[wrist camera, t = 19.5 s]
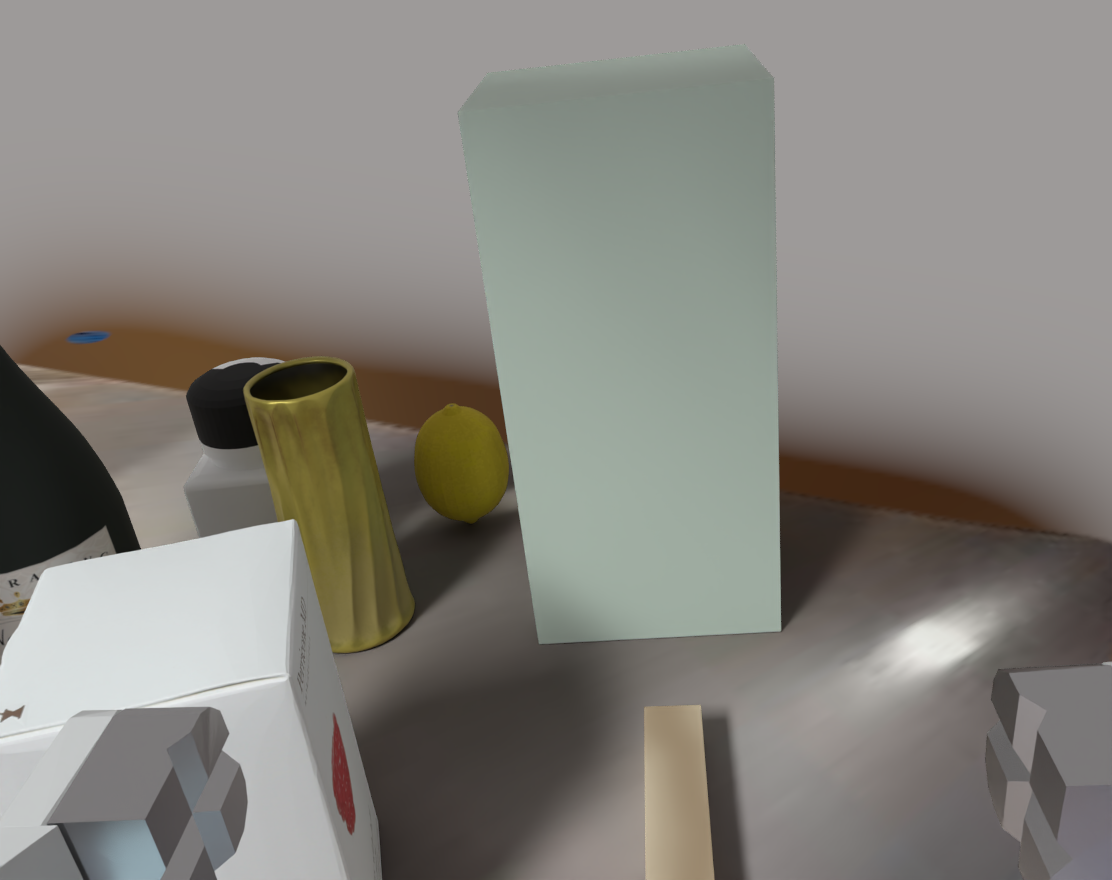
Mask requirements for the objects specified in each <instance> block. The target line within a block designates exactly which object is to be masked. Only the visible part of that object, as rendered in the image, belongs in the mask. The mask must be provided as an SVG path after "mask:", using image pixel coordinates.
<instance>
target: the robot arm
mask: <svg viewBox="0 0 1112 880" xmlns="http://www.w3.org/2000/svg"><path fill="white" fill-rule="evenodd" d="M991 701H992V703H993V705H994V708H995V710H996V712H997V714H998V717H999V719H1000V721H999V722H998V723H997V724H996V725H995V726H994V727H993V728H992V729H991V730H990V731H989V732H988V733H987V740H986V753H985V763H986V772H987V781H988V788H989V791H990V795H991V799H992V802H993V806H994V809H995V811H996V814H997V817H998V819H999V822H1000V824H1001V827H1002V829H1004V830H1005V831H1006V832H1008V833H1009V834H1010V835H1012V836H1013V837H1014V838H1016V839H1017V840H1018V841H1020V842H1021V846H1020V854H1019V861H1018V868H1019V870H1020V873H1021V875H1022V877H1023V880H1112V662H1104V663H1102V664H1080V665H1062V666H1043V667H1025V668H1007V669H998V671H997V673H996V675H995V678H994V680H993V686H992V694H991ZM228 736H229V731H228V729H227V726H226V724H225V721H224V719H223V716H222V714H221V711H220V710H217V709H215V708H212V707H172V708H128V709H124V710H82V711H81V712H79V713H77V714H75V715H74V716H72V717H70V718H69V719H68V720H67V722H66V723H65V725H64V726H63V728H62V729H61V731H60V732H59V734H58V735H57V737H56V738H55V739H54V741H53V742H52V744H51V745H50V747H49V748H48V750H47V751H46V753H45V754H44V756H43V757H42V759H41V760H40V761H39V763H38V764H37V766H36V767H35V769H34V770H33V772H32V773H31V775H30V776H29V778H28V779H27V781H26V782H25V783H24V785H23V786H22V788H21V789H20V791H19V792H18V794H17V795H16V797H15V798H14V800H13V801H12V803H11V804H10V805H9V807H8V808H7V810H6V811H5V813H4V814H3V816H2V817H1V819H0V880H217V877H216V875H215V872H214V871H215V870H217V869H218V868H219V867H220V866H221V865H222V864H224V863H225V862H226V861H227V860H228V859H229V858H231V857H232V856H233V855H234V854H235V853H236V851H237V848H238V845H239V843H240V840H241V837H242V835H243V832H244V828H245V821H246V813H247V805H248V799H247V789H246V781H245V778H244V775H243V772H242V769H241V766H240V764H239V763H238V762H237V761H235V760H234V759H233V758H231V757H230V756H229V755H228V754H226V753H225V752H224V751H223V750H222V749H223V747H224V744H225V742H226V740H227V738H228Z"/></svg>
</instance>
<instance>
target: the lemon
mask: <svg viewBox="0 0 1112 880" xmlns="http://www.w3.org/2000/svg"><path fill="white" fill-rule="evenodd" d="M414 466H415V475H416V479H417V483H418V486H419V488H420V490H421V492H422V494H423V496H424V498H425V500H426V501H427V503H428V504H429V505H430V506H431V507H432V508H433V509H434V510H435V511H437V512H438V513H439V514H441V515H442V516H445V517H447V518H449V519H453V520H458V521H464V522H466V523H469V524H472V523H475V522H476V521H477V520H478V519H479V518H480V517H483V516H484V515H486V514H488V513H489V512H491V511H492V510H493V509H494V508H495V507H496V506H497V505H498V504H499V502H500V501H501V499H502V497H503V496H504V493H505V491H506V488H507V483H508V476H509V463H508V456H507V452H506V448H505V446H504V443H503V440H502V438H501V436H500V434H499V432H498V430H497V428H496V426H495V425H494V423H493V422H492V421H491V420H490V419H489V418H488V417H486V416H485V415H484V414H482V413H481V412H479V411H477V410H474V409H472V408H469V407H463V406H458V405H457V404H448V405H446V407H445V408H444V409H442V410H440V411H438V412H436V413H435V414H433V415H432V416H431V417H430V418H429V419H428V420H427V421H426V422H425V423H424V425H423V426H422V428H421V429H420V431H419V433H418V436H417V439H416V444H415V456H414Z"/></svg>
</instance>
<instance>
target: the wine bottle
mask: <svg viewBox="0 0 1112 880" xmlns="http://www.w3.org/2000/svg"><path fill="white" fill-rule="evenodd" d="M136 550H141V548H140V545H139V543H138V540H137V537H136V534H135V531H134V529H133V526H132V523H131V520H130V518H129V515H128V512H127V509H126V507H125V504H124V501H123V498H122V496H121V494H120V492H119V490H118V488H117V487H116V485H115V483H114V481H113V479H112V478H111V476H110V474H109V473H108V471H107V469H106V468H105V466H104V464H103V463H102V461H101V460H100V459H99V457H98V456H97V454H96V453H95V451H94V450H93V449H92V447H91V446H90V444H89V443H88V442H87V440H86V439H85V438H84V436H83V435H82V434H81V433H80V432H79V430H78V429H77V428H76V427H75V426H74V424H73V423H72V422H71V421H70V420H69V419H68V418H67V417H66V416H65V415H64V414H63V413H62V412H61V411H60V410H59V408H58V407H57V406H56V405H55V404H54V403H53V402H52V401H51V400H50V399H49V398H48V397H47V396H46V395H45V394H44V393H43V392H42V391H41V390H40V389H39V388H38V387H37V386H36V385H35V384H34V383H33V382H32V381H31V380H30V379H29V377H28V376H27V375H26V374H25V373H24V372H23V371H22V370H21V369H20V368H19V367H18V365H17V364H16V363H15V362H14V361H13V360H12V359H11V358H10V356H9V355H8V354H7V353H6V352H5V350H4V349H3V348H2V347H1V346H0V666H1V662H2V655H3V652H4V649H5V647H6V645H7V643H8V641H9V639H10V638H11V636H12V635H13V633H14V632H15V631H16V629H17V628H18V626H19V624H20V622H21V619H22V617H23V615H24V613H25V610H26V608H27V606H28V604H29V601H30V599H31V597H32V595H33V592H34V590H35V588H36V585H37V583H38V581H39V578H40V576H41V574H42V573H43V572H44V570H46V569H47V568H51V567H55V566H60V565H64V564H69V563H73V562H78V561H83V560H88V559H93V558H99V557H104V556H109V555H114V554H120V553H125V552H131V551H136Z"/></svg>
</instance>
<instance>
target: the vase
mask: <svg viewBox="0 0 1112 880" xmlns="http://www.w3.org/2000/svg"><path fill="white" fill-rule="evenodd" d="M244 397H245V402H246V405H247V409H248V412H249V416H250V419H251V423H252V426H253V430H254V433H255V436H256V439H257V443H258V446H259V450H260V453H261V457H262V460H263V464H264V468H265V471H266V475H267V478H268V482H269V486H270V490H271V494H272V499H273V503H274V507H275V512H276V516H277V521H278V522H282V521H287V520H292V519H294V520H296V521H297V524H298V526H299V530H300V534H301V538H302V542H303V545H304V549H305V553H306V557H307V560H308V564H309V568H310V572H311V576H312V579H313V583H314V587H315V590H316V594H317V598H318V601H319V605H320V609H321V612H322V616H323V620H324V623H325V627H326V630H327V634H328V638H329V642H330V645H331V649H332V653H352V652H358V651H363V650H367V649H370V648H373V647H375V646H378V645H380V644H383V643H384V642H386V641H388V640H390V639H391V638H393V637H394V636H395V635H397V634H398V633H399V632H400V631H401V630H402V629H403V628H404V627H405V626H406V625H407V624H408V623H409V621H410V620H411V618H412V616H413V613H414V608H415V601H414V598H413V596H412V594H411V592H410V589H409V586H408V583H407V579H406V575H405V571H404V567H403V563H402V559H401V556H400V552H399V549H398V545H397V542H396V539H395V535H394V532H393V528H392V524H391V520H390V516H389V512H388V508H387V504H386V500H385V496H384V493H383V489H382V485H381V481H380V477H379V473H378V469H377V465H376V460H375V457H374V452H373V448H372V444H371V440H370V436H369V432H368V428H367V423H366V419H365V415H364V410H363V406H362V401H361V398H360V393H359V389H358V384H357V379H356V375H355V371H354V369H353V367H352V366H351V365H350V364H349V363H348V362H346V361H344V360H342V359H338V358H332V357H324V356H322V357H321V356H319V357H306V358H300V359H296V360H291V361H287V362H283V363H280V364H277V365H275V366H272V367H270V368H268V369H266V370H264V371H262V372H260V373H258V374H257V375H255V376H254V377H253V378H251V379H250V380H249V381H248V382H247V383H246V385H245V386H244Z"/></svg>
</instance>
